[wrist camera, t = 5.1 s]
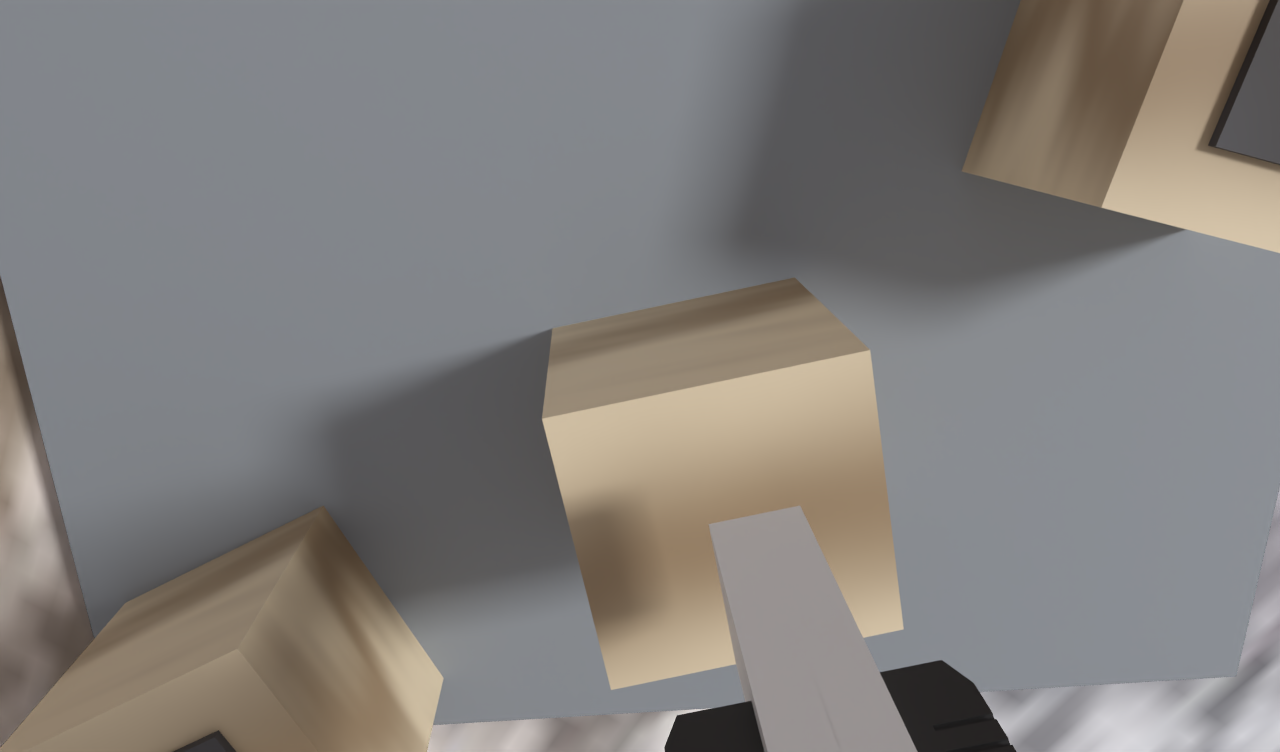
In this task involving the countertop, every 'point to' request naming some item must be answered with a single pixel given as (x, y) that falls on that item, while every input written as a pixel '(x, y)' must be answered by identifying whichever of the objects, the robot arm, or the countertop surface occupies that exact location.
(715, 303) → the plain block
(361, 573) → the labelled block
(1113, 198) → the labelled block
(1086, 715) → the countertop surface
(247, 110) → the mat
